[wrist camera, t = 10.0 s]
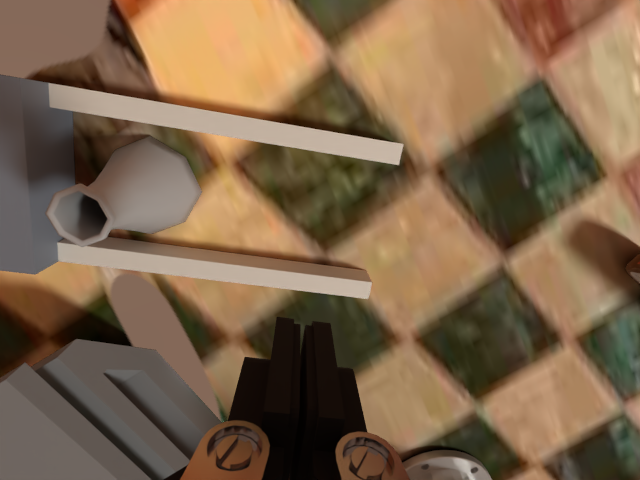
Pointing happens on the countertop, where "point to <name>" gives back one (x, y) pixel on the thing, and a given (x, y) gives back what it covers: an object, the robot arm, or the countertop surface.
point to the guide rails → (210, 261)
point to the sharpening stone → (98, 416)
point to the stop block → (31, 173)
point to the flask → (128, 195)
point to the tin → (634, 268)
